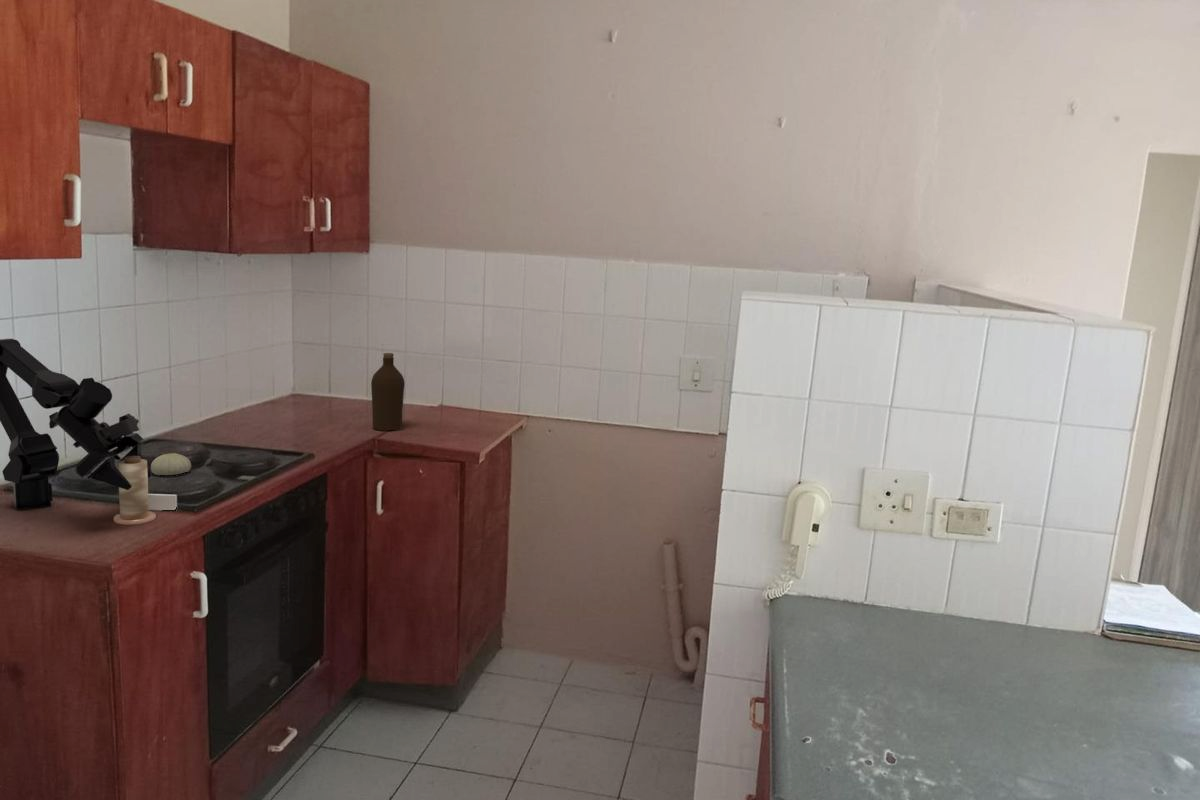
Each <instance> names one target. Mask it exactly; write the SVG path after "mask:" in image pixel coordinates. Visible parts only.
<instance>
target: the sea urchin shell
mask: <svg viewBox="0 0 1200 800" xmlns="http://www.w3.org/2000/svg"><path fill="white" fill-rule="evenodd" d="M191 469H192V464H191V460H190V459H189V458H188V457H186V456H184V455H182V454H179V453H175V452H174V453H164V454H160V455H159V456H157V457H156V458H155V459H154V460H152V462H151V464H150V472H151V474H154V475H156V476H160V475H172V474H179V473H184V472H187V473H188V472H190V471H191ZM184 474H185V473H184Z"/></svg>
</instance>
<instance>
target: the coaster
mask: <svg viewBox="0 0 1200 800" xmlns="http://www.w3.org/2000/svg"><path fill="white" fill-rule="evenodd" d="M156 514H157V513H156V512H154V511H152V510H149V516H148V517H146V518H143V519H139V520H123V519H121V518H120V513H117V514H116V515H114V516H113V522H114V524H117V525H123V526H124V525H125V526H133V525H141V524H146V523H149V522H150V523H151V522H152V521H154V520H155V519H156V518H157V515H156Z"/></svg>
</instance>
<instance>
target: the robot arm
mask: <svg viewBox="0 0 1200 800" xmlns="http://www.w3.org/2000/svg"><path fill="white" fill-rule="evenodd" d="M8 369H9V370H11V372H13V373H14V375H17V376H18V377H19V378H20V379H21V380H22V381H24V382H25V383H26V384H27V385H28V386H29V387H30V388H31V396H32V397H33V398H34V400H35V401H36V402H37V403H38V404H39V405H40V406H41V407H42V408H43V409H46V410H47V409H48V410H50V409H58V408H60V410H59V411H55V412H54V413H52V414H49V415H48V416H49V422H48V423H49V424H48V425H49V428H50V429H52V430H53V429H54V428H56V427H58V426H59V427H60V429H62V431H64V432H65V433H66V434H68V436H69V437H70V438H72V440H73V441H75V442H74V443H73V444H72V446H73V447H75V448H76V449H78V448H80V447H81V448H82V449H83V450H84V451H85V452H86V453H87V454H85V456H84V457H83V458H81V459H80V460H79V461H78V462H77V463H76V464H75V466H74V468H75V469H74V470H75V471H74V472H75V473H76V474H77V475H79V477H80V478H82V479H85V478H86V477H87V479H88V480H95V481H99V482H101V483H106V484H108V485H111V486H114V487H117V488H119V487H120V488H123V489H126V490H129V489H130V488H131V487H132V486H131V484H130V483H129V482H128V480H127V479H126V478H125V477H124V476H123V475H122V473H121V472H120V471H119V470H118V467H116V461H115V460H117V461H122V460H124V458H125V457H127V456H140V459H144V457H143V455H142V447H143V444H144V443H143V441H144V438H143V437H142V436H141V435H140V434H139V433H138V431H140V428H139V426H138V425H139V419H138V418H136V417H135V416H134V415H132V414H130V413H126V414H124V415H122V416H119V419H118V420H119V421H118V422H117V423H114V424H111V425H109V424H108V422H104V421H103V422H100V423H99V422H98V421H97V419H95V418H97V417H98V415H100V414H101V412H102V411H103V410H104V409H105V408H106V407H107V405H109V403H110V402H111V401H112V400H113V393H112V390H111V389H110V388H108V386H106V385H105V384H103V383H101V382H98V381H95V380H94V377H87V378H85V377H84V378H83V379H81V381H80V383H77V381H76V380H75V379H73V378H71V377H69V376H68V375H66V374H63V373H59V372H56V371H54V370H53V371H52V370H51V369H49V368H48V367H47V366H46V365H44V364H43V363H42V362H41V361H40V360H38V359H37V358H36V357H35V356H34V355H32V354H31V353H30V352H29V351H27V349H25V348H24V347H23V346H21V343H20V342H19V340H17V339H14V338H4V339H3V338H0V423H1V426H2V427H3V429H4V431H5V433H6V435H7V437H8V439H9V441H10V444H9V449H8V453H7V455H8V458H9V462H7V464H6V465H5V467H4V468H3V470H2V471H1V472H2V475H3V479H4V480H5V481H7V482H10V483H12V485H13V486H12V489H13V500H12V504H13V506H14V508H15V509H16V510H17V511H21V510H29V509H37V508H45V507H46V508H47V507H51V506H52V502H53V499H54V498H53V484H52V482H51V481H50V480H49V477H51V476H56V475H57V472H58V467H59V462H60V454H59V452H58V450H57V449H58V447H57V446H56V445H55V443H54V441H53V439H52V436H51V435H50V434H48V433H47V432H46V433H42V434H41V433H39V432H37V431H36V429H35V428H34V427H33V424H32V423H31V421H30V419H29V416H28V415H27V413H26V411H25V409H24V408H23V405H22V403H21V402H20V400H19V398H18V395H17V394H16V392H15V391H14V388H13V386H12V384H11V383H10V381H9V379H8V377H7V374H8ZM136 432H137V433H136ZM147 472H148V479H150V478H151V477H152V476H153V475H152V474H153V473H152V471H151V469H150V468H149V467H148V466H147Z"/></svg>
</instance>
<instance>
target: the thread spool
mask: <svg viewBox="0 0 1200 800" xmlns="http://www.w3.org/2000/svg"><path fill="white" fill-rule="evenodd" d="M147 467H148V460H147V459H144V458H143V459H140V456H127V457H125V458H124V460H122V461H120V460H118V462H117V469H118V470H119V471H120V472H121V473H122V475H123V476H124V477H125V478H126V479H127V480H128V482H129V483H130V484H131V486H132V487H131V488H130V489H129V490H126V489H123V488H120V487H118V497H119V499H118V500H119V501H118V502H119V514H120V518H121V519H123V520H139V519H143V518H146V517H148V516H149V511H150V510H149V501H148V494H149V478H148V472H147Z"/></svg>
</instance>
